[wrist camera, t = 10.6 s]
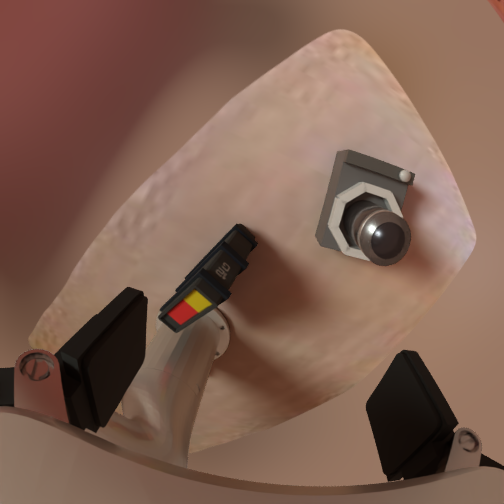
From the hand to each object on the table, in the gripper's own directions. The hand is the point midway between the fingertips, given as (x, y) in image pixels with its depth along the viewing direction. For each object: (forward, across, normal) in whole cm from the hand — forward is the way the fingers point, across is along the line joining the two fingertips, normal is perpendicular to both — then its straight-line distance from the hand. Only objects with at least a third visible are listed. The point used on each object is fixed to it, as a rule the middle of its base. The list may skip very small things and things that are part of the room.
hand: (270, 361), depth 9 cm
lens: (+25, -11, -3) cm, 27 cm away
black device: (+30, +6, +9) cm, 32 cm away
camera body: (+30, -11, -4) cm, 32 cm away
